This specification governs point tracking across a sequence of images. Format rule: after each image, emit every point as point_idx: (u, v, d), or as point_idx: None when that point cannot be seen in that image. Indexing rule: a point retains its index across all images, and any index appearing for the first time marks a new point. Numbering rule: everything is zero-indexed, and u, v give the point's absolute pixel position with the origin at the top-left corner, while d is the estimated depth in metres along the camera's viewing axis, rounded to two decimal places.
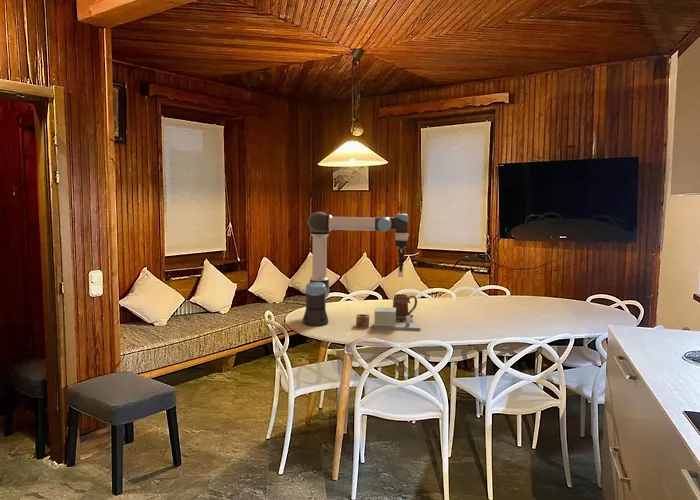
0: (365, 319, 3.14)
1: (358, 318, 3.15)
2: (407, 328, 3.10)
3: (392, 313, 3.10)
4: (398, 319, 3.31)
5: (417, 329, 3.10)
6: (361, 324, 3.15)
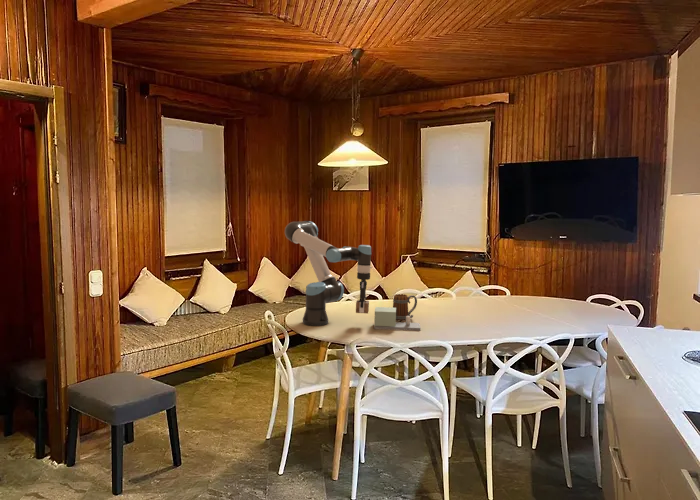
0: (365, 305, 3.14)
1: (358, 304, 3.14)
2: (407, 328, 3.10)
3: (392, 313, 3.10)
4: (398, 319, 3.31)
5: (417, 329, 3.10)
6: None
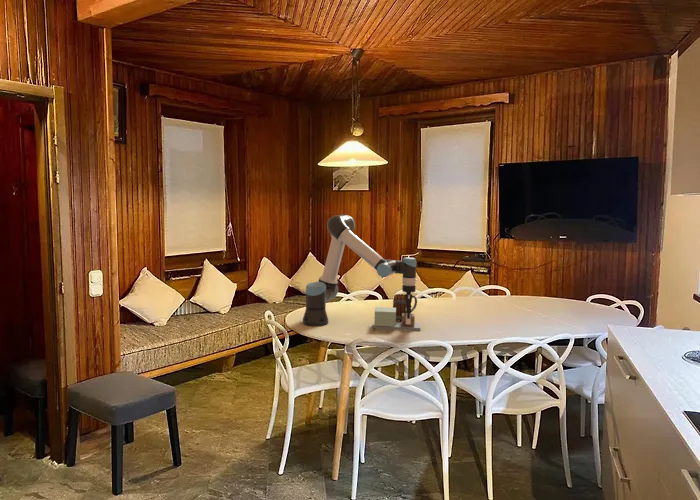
0: (411, 318, 3.12)
1: (404, 317, 3.12)
2: (407, 328, 3.10)
3: (392, 313, 3.10)
4: (398, 319, 3.31)
5: (417, 329, 3.10)
6: None
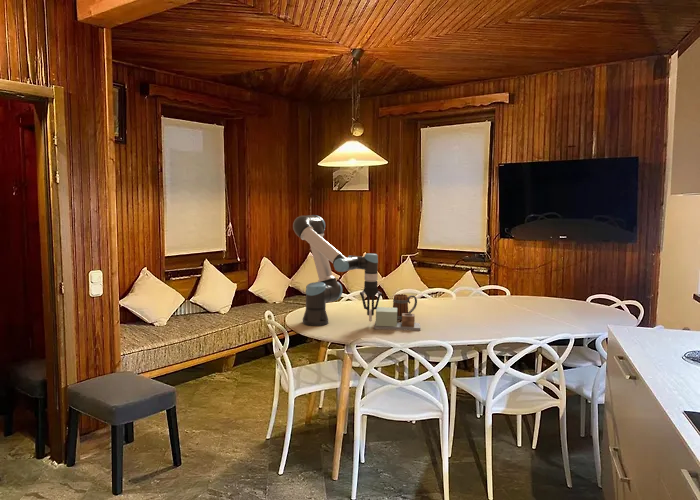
0: (411, 318, 3.12)
1: (404, 317, 3.12)
2: (407, 328, 3.10)
3: (393, 313, 3.10)
4: (398, 319, 3.31)
5: (417, 329, 3.10)
6: (407, 323, 3.12)
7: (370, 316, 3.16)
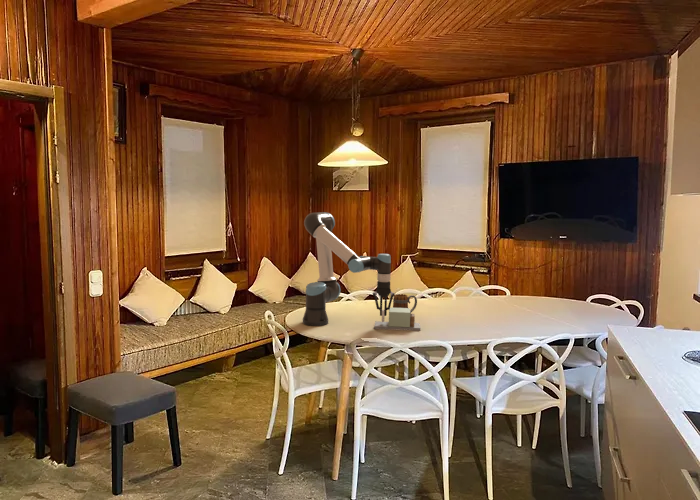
0: (411, 318, 3.12)
1: None
2: (407, 328, 3.10)
3: (406, 314, 3.09)
4: None
5: (417, 329, 3.10)
6: None
7: (383, 316, 3.15)
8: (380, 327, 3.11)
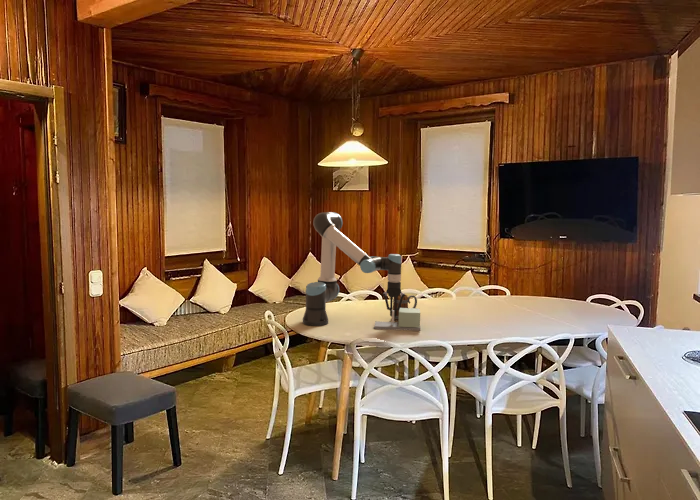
0: None
1: None
2: (407, 328, 3.10)
3: (416, 314, 3.09)
4: (398, 319, 3.31)
5: (417, 329, 3.10)
6: None
7: (392, 317, 3.15)
8: (380, 327, 3.11)
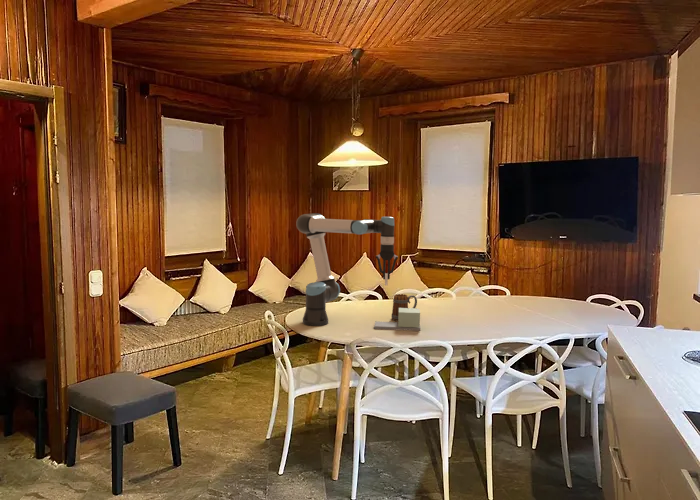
0: None
1: None
2: (407, 328, 3.10)
3: (416, 314, 3.09)
4: None
5: (417, 329, 3.10)
6: None
7: (386, 280, 3.13)
8: (380, 327, 3.11)
